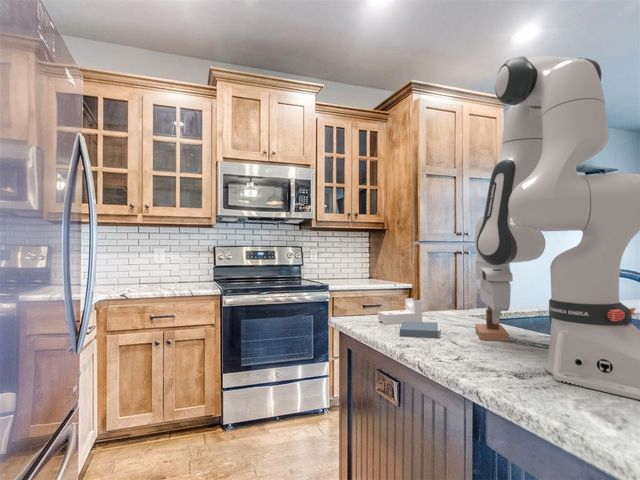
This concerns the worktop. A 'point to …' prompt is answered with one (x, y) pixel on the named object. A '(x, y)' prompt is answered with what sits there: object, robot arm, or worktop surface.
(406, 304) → the bracket
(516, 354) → the worktop surface
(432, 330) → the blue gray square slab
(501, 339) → the stub
